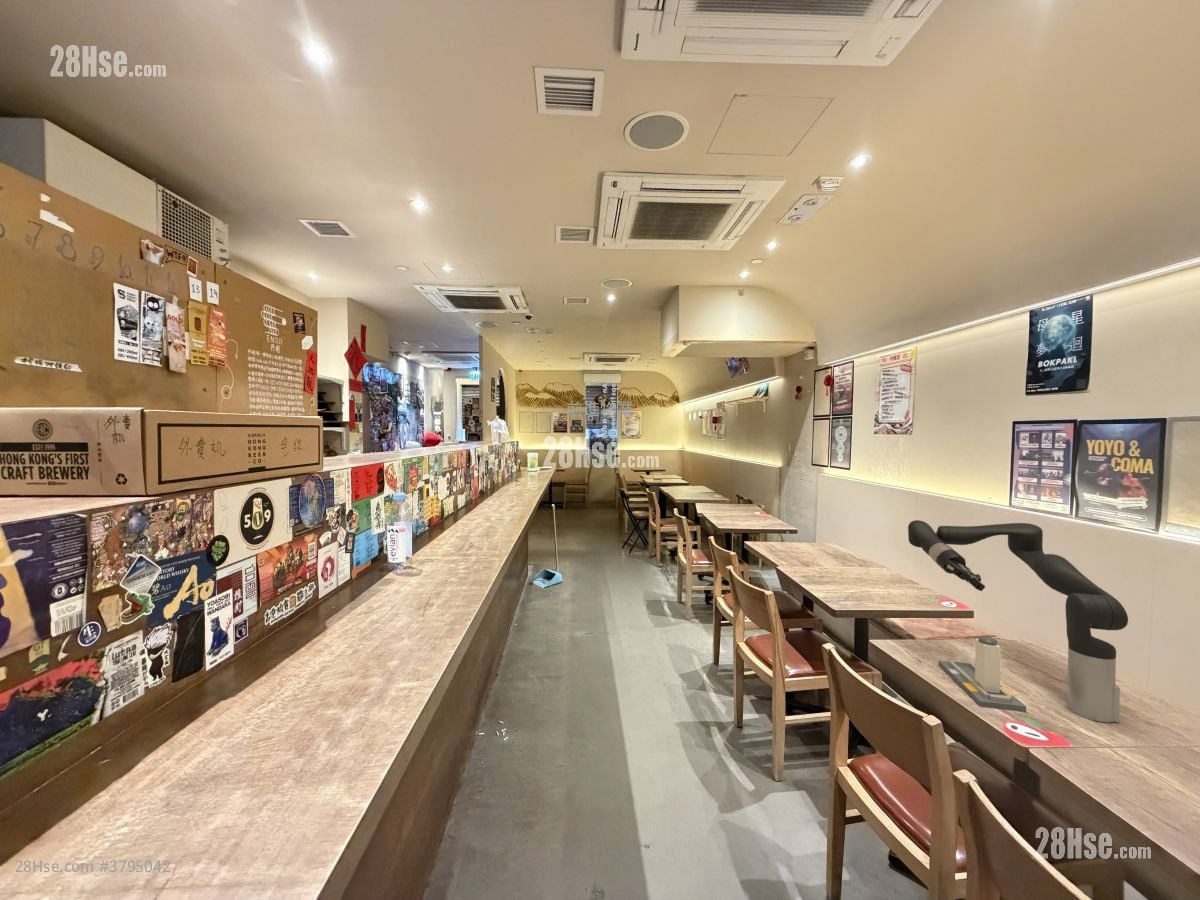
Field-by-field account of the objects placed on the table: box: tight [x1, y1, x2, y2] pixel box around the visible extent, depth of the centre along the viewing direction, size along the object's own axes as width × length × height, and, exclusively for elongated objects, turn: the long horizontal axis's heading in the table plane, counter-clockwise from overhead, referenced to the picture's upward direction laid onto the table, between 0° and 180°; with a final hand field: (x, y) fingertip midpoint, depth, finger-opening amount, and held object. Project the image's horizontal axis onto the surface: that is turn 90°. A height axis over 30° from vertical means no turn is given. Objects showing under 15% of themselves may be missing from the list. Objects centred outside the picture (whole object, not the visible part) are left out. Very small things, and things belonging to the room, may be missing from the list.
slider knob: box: [974, 635, 1002, 694], centre depth 140 cm, size 5×4×15 cm
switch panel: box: [938, 659, 1027, 713], centre depth 145 cm, size 26×11×3 cm, turn 166°
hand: (981, 588), depth 153 cm, fingers closed
